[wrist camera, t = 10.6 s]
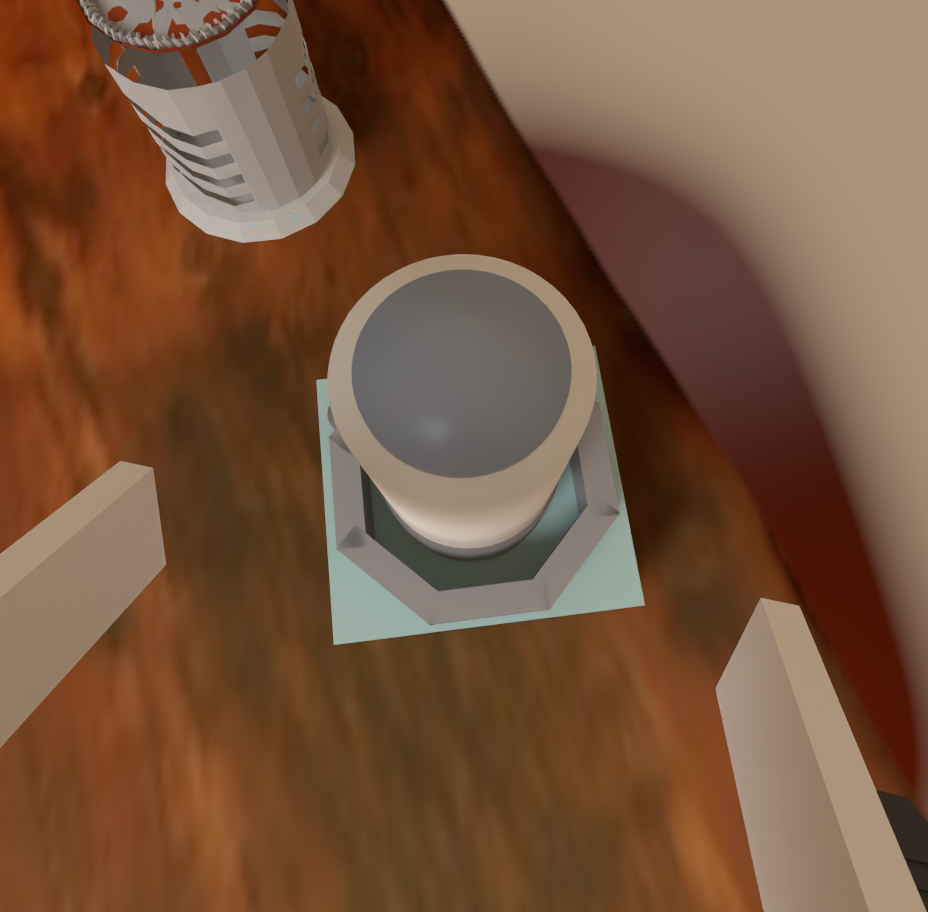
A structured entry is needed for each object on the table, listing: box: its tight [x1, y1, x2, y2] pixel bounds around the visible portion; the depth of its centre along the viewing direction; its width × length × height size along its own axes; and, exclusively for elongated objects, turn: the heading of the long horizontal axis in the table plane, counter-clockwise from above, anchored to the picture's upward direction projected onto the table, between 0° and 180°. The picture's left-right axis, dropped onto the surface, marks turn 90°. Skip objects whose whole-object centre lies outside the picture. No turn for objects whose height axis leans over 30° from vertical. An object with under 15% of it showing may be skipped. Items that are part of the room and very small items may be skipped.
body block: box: [316, 346, 645, 645], centre depth 25 cm, size 10×11×6 cm
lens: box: [328, 254, 597, 562], centre depth 18 cm, size 6×6×11 cm
